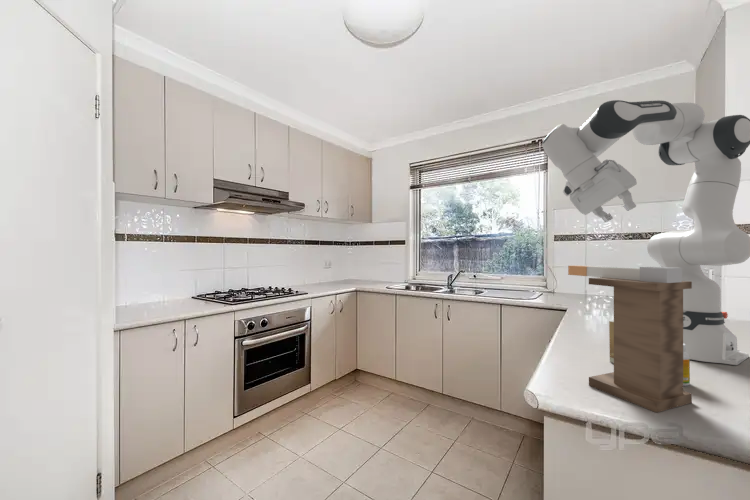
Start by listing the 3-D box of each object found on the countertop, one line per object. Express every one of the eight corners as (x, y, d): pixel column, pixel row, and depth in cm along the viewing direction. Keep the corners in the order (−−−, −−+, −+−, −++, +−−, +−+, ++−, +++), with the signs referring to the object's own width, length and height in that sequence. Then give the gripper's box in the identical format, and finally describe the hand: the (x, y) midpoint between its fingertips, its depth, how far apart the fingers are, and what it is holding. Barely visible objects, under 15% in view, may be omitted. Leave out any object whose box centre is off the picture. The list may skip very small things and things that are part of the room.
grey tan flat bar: (578, 274, 89) (578, 263, 89) (681, 282, 68) (681, 267, 68) (565, 274, 87) (565, 263, 87) (667, 283, 66) (667, 268, 66)
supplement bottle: (695, 387, 77) (695, 346, 77) (669, 385, 78) (669, 345, 78) (679, 378, 82) (679, 340, 82) (655, 376, 83) (655, 339, 83)
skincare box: (623, 359, 96) (623, 318, 96) (639, 364, 92) (639, 321, 92) (608, 362, 94) (608, 320, 94) (623, 367, 90) (623, 323, 90)
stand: (621, 378, 82) (621, 276, 82) (691, 402, 69) (691, 281, 69) (588, 385, 78) (588, 277, 78) (656, 412, 65) (656, 283, 65)
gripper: (620, 150, 80) (659, 194, 77) (577, 184, 100) (607, 220, 97) (598, 162, 80) (637, 207, 76) (560, 194, 100) (589, 231, 96)
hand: (620, 215), depth 87 cm, fingers open, 8 cm apart
